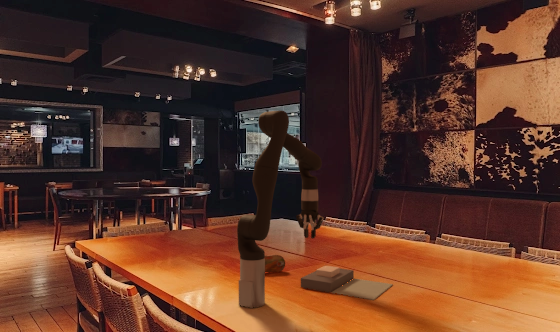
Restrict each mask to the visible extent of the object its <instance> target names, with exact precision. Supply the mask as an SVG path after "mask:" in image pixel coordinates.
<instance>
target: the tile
mask: <svg viewBox="0 0 560 332" xmlns="http://www.w3.org/2000/svg"><path fill="white" fill-rule="evenodd" d="M315 271H316V275H318V276H324V277H333V276H335V275H337V274H339V273H340V267H338V266H332V265H324V266H322V267H319V268H317V269H315Z"/></svg>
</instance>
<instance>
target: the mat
mask: <svg viewBox="0 0 560 332" xmlns="http://www.w3.org/2000/svg"><path fill="white" fill-rule="evenodd" d="M393 284H394V283H387V282H380V281H373V280H367V279H363V278H362V279H360V278H354V279H353V280H351V281H349V282H348V283H346V284H344V285H343V286H341V287H339V288H338V289H336V290H334V291H333V292H331V294H335V293H337V294H336V295H341V294H343V295H342V296H346V295H348V296H347V297H352V296H354V298H358V297H359V298H358V299H363V298H364V300H370V301H374V300H376V299H377V298H378V297H379V296H381V295H383V294H384V293H385V292H386V291H387V290H389V289H390V288H391V287H393Z"/></svg>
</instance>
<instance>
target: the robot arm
mask: <svg viewBox="0 0 560 332" xmlns="http://www.w3.org/2000/svg"><path fill="white" fill-rule="evenodd" d="M257 121H258V123H257V124H258V127H259V130H260V131H261V132H262V133H263V134H264V135H266V136H268V137H269V138H270V140H269V143H267V146H266V147H265V149H264V150H263V151H262V152H261V154H260V155H259V157H258V158H257V160H256V161H255V164H254V166H253V167H254V169H253V174H252V179H251V180H252V185H253V189H254V192H255V195H256V198H257V209H256V214H243V215H241V216H240V218H239V220H238V221H237V227H236V229H237V230H236V233H237V250H238V253H239V280H238V306H239V305H241V306H240V307H243V306H246V307H245V308H248V307H250V308H249V309H253V307H254V308H260V307H263V306H264V305H265V304H266V300H265V299H266V295H265V294H266V293H265V291H266V290H265V289H266V285H265V284H266V276H265V256H266V253H265V250H264V248H262V247H260V246H259V245H258V244H257V243H256V241H257V242H258V241H259V242H262V241H265V240H266V238H267V237H268V234H269V231H270V228H271V227H270V226H271V219H272V209H273V208H272V206H273V201H274V199H273V198H274V194H275V190H276V189H275V188H276V183H277V180H278V179H277V178H278V173H279V168H280V167H279V166H280V163H281V161H280V160H281V156H282V152H283V149H285V150H286V151H287V152H288V153H289V154H290V155H291V156H292V157H293V158H294V159H295V160H296V161H298V162H297V166H298V170H299V173H300V177H301V212H300V214H296V215H295V218H296V220H297V222H298V225H299V228H302V229H303V236H304V238H306V239H308V238H309V234H310V238H311V239H313V240H314V239H315V238H316V237H317V236H316V235H317V234H316V233H317V230H318V229H320V228H321V226H322V224H323V221H324V220H325V217H324V216H321V215H320V213H319V189H318V187H319V186H318V184H319V183H318V177H317V176H315V175H312V174H311V172H315V171H316V172H317V171H318V170H320V169H321V168H322V165H323V163H322V162H323V161H322V159H321V157H320V155H318V154H317V153H316V152H314V151H313V150H311V149H310V148H308V147H307V146H306V145H305V144H304V143H303V142H302V141H301V140H300V139H299V138H298V137H295V136H294V135H292V134H290V133H288V131H289V126H290V125H289V123H290V117H289V114H288V113H287V112H286V111H284V110H273V111H272V110H271V111H265V112H262V113H261V114H259V117H258V120H257ZM310 171H311V172H310ZM309 225H310V227H311V228H310V229H311V231H310V233H309V230H310V229H309ZM259 306H260V307H259Z"/></svg>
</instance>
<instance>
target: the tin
mask: <svg viewBox="0 0 560 332" xmlns="http://www.w3.org/2000/svg"><path fill="white" fill-rule="evenodd" d="M285 266H286V261H285V258H284V257H283V256H281V255H279V254H268V255H266V254H265V272H278V273H280V272H279V271H281V272H283V270H284V269H285Z"/></svg>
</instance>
